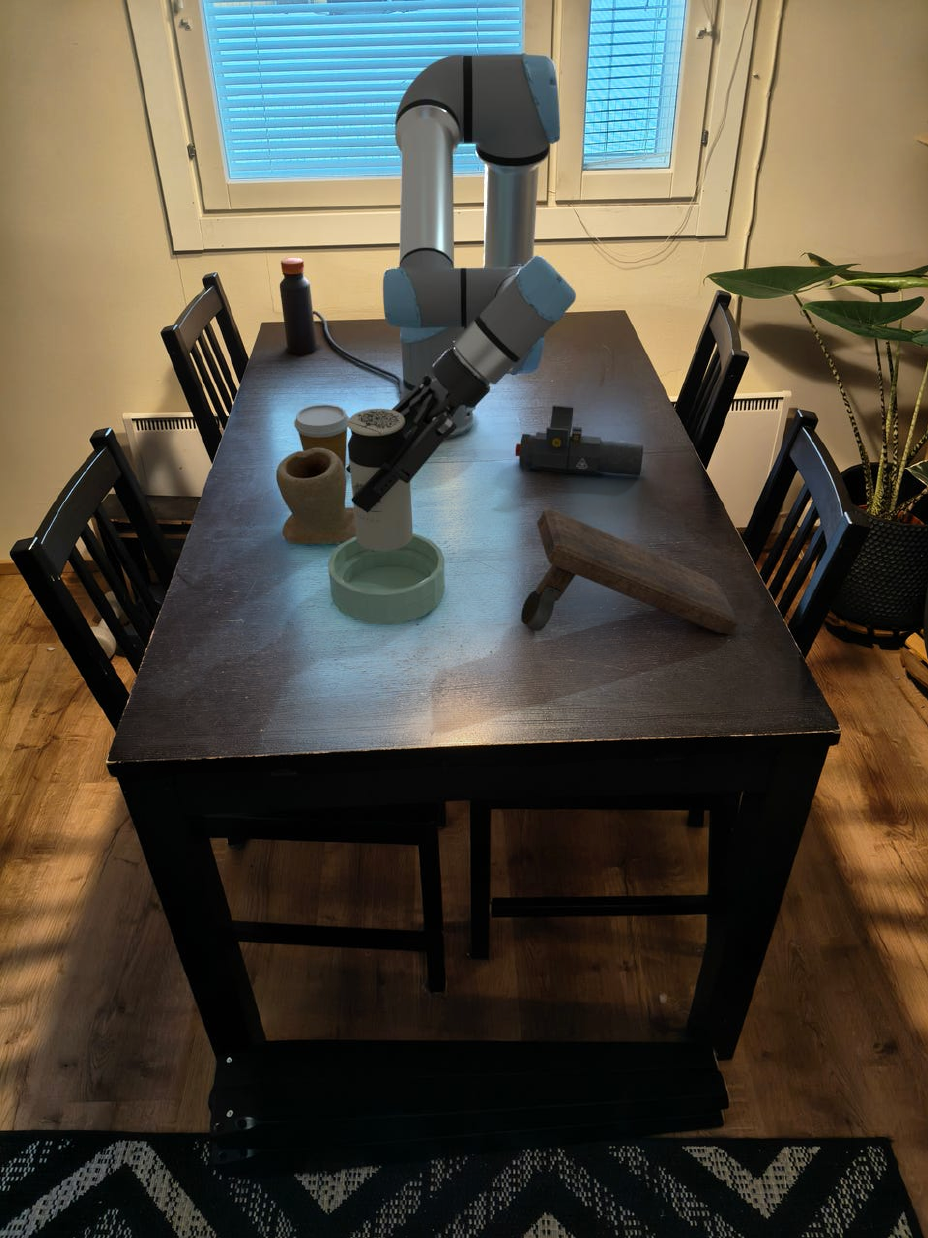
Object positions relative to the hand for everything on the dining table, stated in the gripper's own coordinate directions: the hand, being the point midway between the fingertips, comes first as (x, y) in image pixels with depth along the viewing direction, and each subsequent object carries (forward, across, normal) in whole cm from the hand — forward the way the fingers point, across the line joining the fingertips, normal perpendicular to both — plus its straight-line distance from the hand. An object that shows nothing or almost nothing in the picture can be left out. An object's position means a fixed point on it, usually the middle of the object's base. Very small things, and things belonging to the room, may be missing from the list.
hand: (356, 489), depth 124 cm
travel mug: (+3, 0, -8) cm, 9 cm away
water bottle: (+16, +101, -9) cm, 103 cm away
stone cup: (+16, +18, -10) cm, 26 cm away
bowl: (+10, 0, -15) cm, 18 cm away
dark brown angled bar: (-12, -13, -38) cm, 42 cm away
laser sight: (-16, +32, -42) cm, 55 cm away
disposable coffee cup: (+15, +38, -11) cm, 42 cm away
